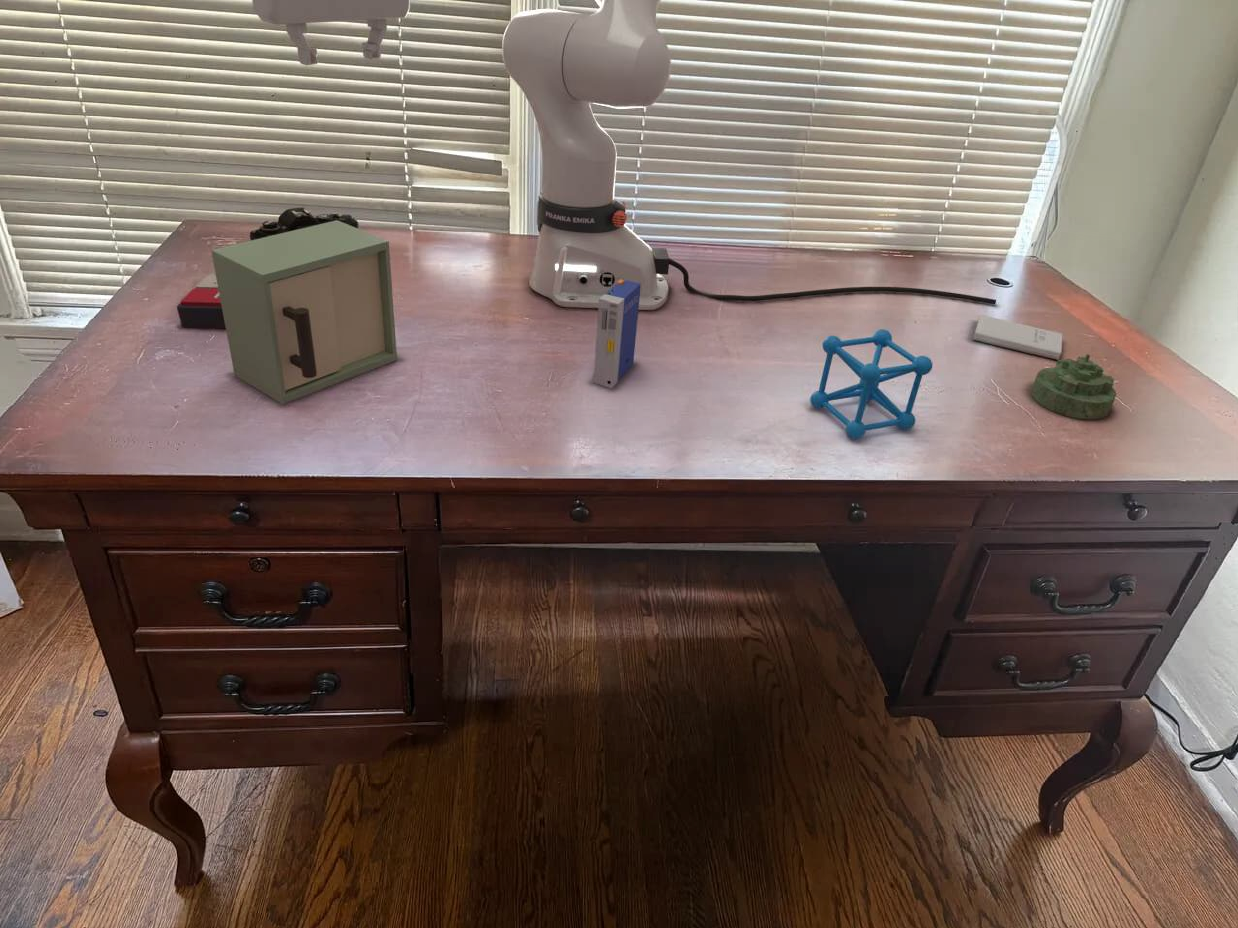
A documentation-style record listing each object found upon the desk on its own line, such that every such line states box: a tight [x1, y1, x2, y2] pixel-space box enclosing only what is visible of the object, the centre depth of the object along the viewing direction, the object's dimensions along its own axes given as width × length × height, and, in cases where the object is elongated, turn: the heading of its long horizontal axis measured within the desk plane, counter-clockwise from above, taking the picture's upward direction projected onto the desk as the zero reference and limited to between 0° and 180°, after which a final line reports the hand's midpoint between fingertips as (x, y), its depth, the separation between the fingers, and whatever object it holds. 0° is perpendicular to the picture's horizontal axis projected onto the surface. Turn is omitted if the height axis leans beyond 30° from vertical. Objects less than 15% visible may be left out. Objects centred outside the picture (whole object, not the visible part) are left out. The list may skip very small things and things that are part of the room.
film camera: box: [249, 207, 359, 241], centre depth 134 cm, size 18×12×10 cm
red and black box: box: [176, 273, 226, 329], centre depth 120 cm, size 11×4×15 cm
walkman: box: [592, 279, 641, 389], centre depth 111 cm, size 8×3×12 cm, turn 158°
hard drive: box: [972, 314, 1063, 361], centre depth 134 cm, size 2×8×12 cm
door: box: [268, 266, 341, 391], centre depth 100 cm, size 4×8×13 cm, turn 142°
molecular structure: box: [809, 328, 933, 440], centre depth 107 cm, size 10×10×10 cm
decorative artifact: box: [1030, 353, 1117, 421], centre depth 116 cm, size 10×7×10 cm
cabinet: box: [210, 220, 398, 405], centre depth 105 cm, size 10×17×16 cm, turn 142°
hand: (341, 61), depth 107 cm, fingers open, 8 cm apart
